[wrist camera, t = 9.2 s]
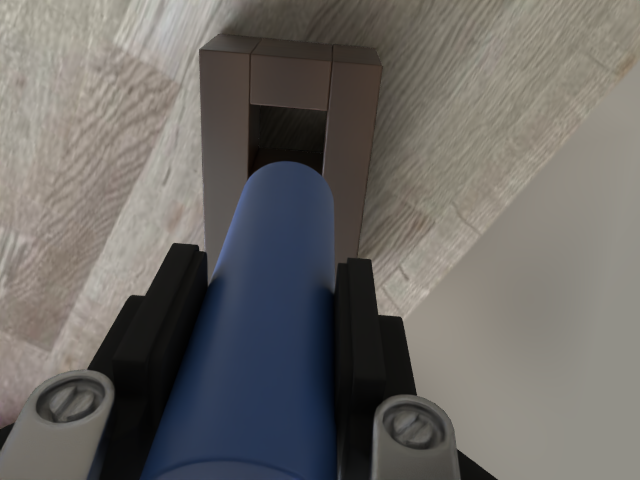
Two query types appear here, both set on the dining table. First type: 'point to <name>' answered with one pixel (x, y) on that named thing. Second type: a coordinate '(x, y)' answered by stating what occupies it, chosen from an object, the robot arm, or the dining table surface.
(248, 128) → the holder
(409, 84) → the dining table surface
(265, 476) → the blue cylinder
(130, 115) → the dining table surface
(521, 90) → the dining table surface
